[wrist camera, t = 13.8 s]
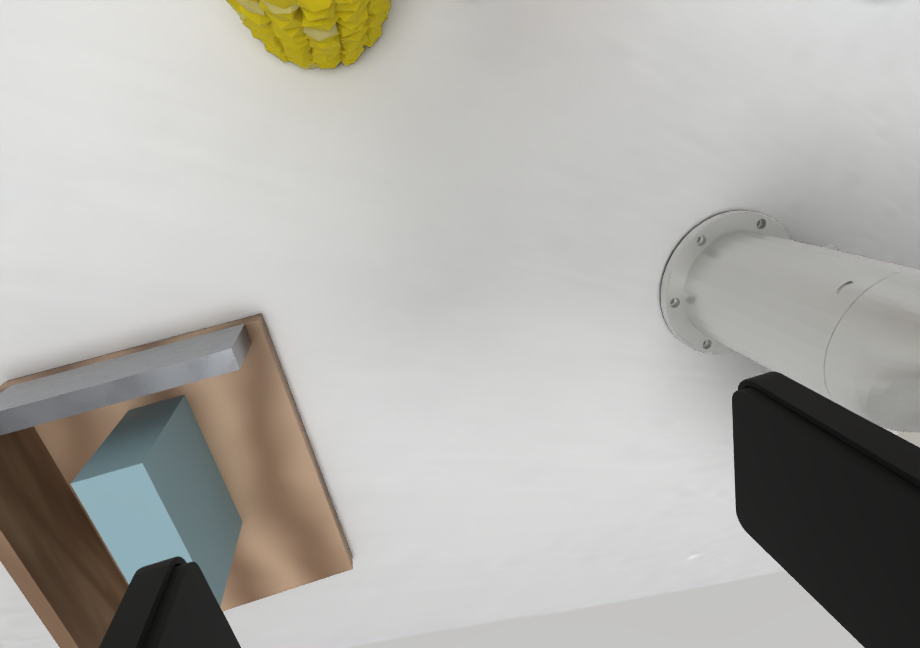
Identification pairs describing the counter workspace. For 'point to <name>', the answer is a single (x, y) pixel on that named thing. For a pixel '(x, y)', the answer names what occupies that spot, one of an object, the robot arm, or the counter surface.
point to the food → (314, 28)
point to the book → (161, 494)
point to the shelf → (231, 444)
